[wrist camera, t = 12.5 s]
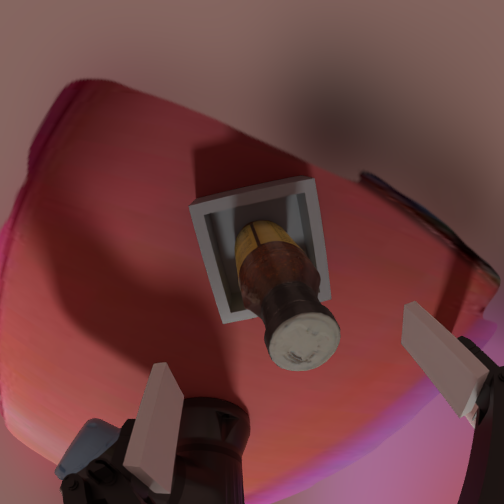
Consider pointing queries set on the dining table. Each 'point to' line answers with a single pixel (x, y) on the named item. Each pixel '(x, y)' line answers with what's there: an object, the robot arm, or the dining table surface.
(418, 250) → the dining table surface
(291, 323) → the sauce bottle
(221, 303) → the grey open box
